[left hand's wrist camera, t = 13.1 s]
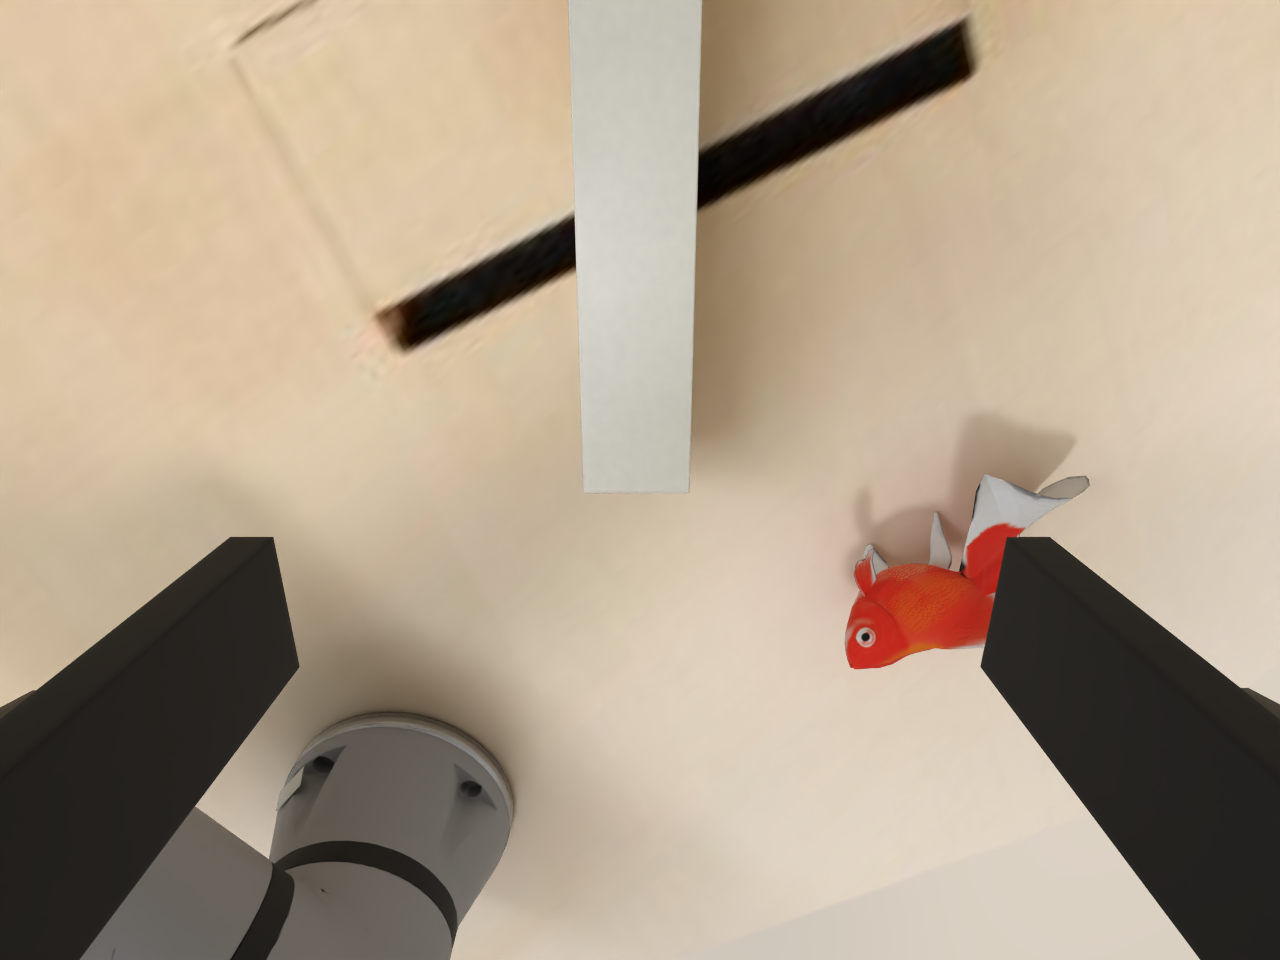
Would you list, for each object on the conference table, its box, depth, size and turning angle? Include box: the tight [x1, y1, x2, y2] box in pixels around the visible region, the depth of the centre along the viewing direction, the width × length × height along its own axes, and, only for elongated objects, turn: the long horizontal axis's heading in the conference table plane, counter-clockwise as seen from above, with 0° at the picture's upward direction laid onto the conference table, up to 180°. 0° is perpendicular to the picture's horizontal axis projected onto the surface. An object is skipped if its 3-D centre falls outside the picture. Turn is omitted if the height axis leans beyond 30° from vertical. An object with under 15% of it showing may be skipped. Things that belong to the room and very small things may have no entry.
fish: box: [845, 474, 1090, 669], centre depth 38 cm, size 11×16×10 cm
